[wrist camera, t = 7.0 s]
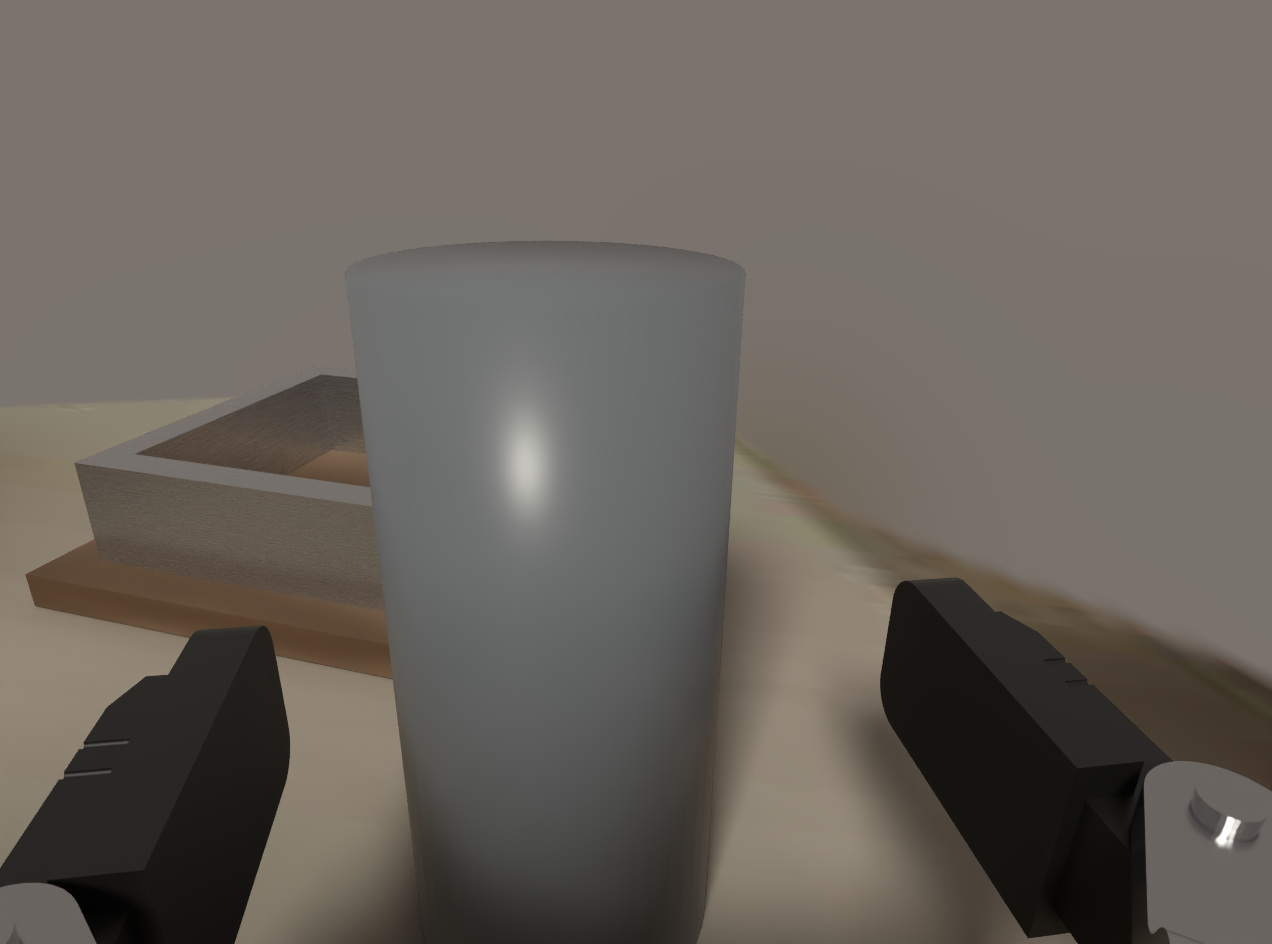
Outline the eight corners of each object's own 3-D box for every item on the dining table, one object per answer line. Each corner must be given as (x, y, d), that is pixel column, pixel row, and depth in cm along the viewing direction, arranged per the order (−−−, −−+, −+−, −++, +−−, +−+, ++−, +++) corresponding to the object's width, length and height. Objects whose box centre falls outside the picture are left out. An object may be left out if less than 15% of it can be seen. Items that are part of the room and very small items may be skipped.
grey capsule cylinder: (666, 1072, 12) (699, 319, 8) (363, 978, 13) (251, 286, 9) (727, 818, 16) (770, 251, 12) (496, 766, 18) (462, 234, 13)
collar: (431, 620, 21) (421, 513, 20) (100, 560, 24) (74, 462, 22) (573, 469, 30) (572, 391, 29) (325, 438, 33) (314, 365, 32)
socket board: (455, 691, 20) (452, 657, 20) (34, 605, 23) (25, 574, 23) (616, 486, 32) (616, 461, 31) (320, 447, 35) (317, 425, 34)
